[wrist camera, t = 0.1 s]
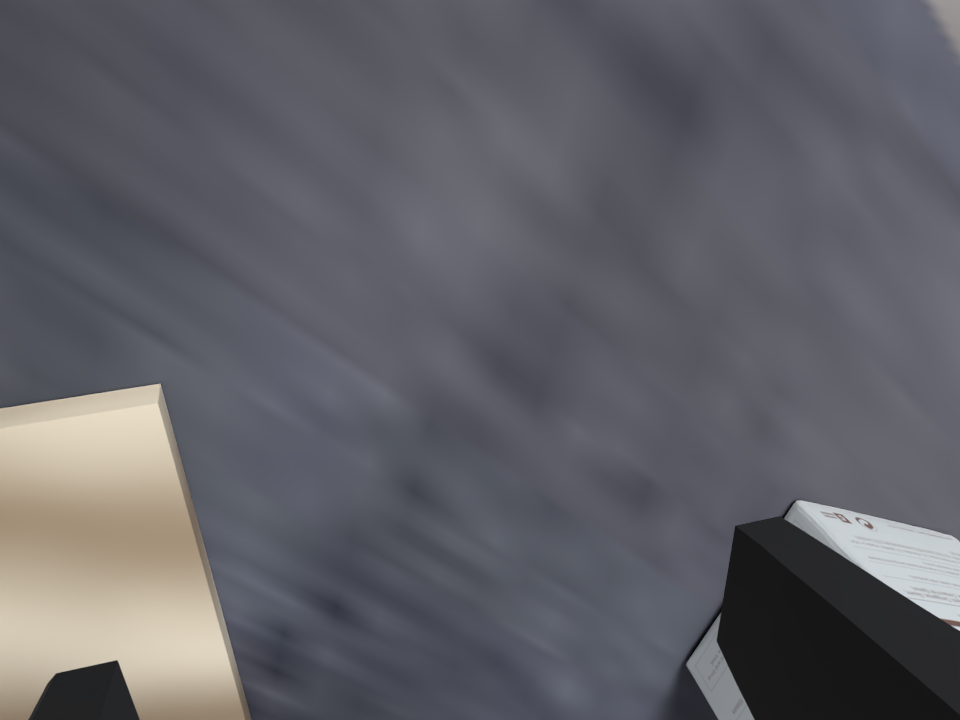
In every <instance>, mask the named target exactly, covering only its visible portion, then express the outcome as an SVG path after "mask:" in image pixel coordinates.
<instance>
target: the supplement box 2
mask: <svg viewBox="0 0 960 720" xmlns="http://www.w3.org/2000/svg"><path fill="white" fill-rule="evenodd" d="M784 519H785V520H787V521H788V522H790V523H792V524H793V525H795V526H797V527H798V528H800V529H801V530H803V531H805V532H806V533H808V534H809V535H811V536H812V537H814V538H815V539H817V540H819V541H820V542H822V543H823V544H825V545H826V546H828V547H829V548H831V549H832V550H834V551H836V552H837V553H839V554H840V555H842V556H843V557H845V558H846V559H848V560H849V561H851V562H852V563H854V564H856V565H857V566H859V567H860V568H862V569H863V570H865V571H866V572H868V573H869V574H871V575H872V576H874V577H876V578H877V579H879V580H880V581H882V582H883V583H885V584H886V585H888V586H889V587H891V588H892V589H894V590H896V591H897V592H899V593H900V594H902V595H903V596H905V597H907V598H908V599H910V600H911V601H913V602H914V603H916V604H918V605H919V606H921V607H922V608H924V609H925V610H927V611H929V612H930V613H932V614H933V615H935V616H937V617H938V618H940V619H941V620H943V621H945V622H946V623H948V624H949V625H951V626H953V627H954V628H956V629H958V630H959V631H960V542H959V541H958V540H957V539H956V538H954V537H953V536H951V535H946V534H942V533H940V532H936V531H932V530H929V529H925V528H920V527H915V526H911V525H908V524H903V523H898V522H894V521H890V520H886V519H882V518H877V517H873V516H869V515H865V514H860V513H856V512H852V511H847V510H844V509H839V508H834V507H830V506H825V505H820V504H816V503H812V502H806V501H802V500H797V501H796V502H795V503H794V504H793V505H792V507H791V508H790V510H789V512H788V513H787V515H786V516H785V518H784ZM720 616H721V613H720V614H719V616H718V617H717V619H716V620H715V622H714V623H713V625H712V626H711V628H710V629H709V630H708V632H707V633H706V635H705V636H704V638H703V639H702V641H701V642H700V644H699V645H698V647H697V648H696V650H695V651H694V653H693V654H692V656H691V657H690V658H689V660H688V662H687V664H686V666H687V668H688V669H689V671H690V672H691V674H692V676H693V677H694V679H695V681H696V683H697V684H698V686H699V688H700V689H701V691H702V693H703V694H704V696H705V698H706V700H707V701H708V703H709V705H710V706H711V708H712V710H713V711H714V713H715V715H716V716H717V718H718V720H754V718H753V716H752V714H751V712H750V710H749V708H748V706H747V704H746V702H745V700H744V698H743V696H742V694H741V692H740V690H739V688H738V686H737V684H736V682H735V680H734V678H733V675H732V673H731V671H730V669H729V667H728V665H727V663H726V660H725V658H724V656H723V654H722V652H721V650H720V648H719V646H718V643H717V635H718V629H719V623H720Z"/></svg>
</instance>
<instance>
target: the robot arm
mask: <svg viewBox="0 0 960 720" xmlns="http://www.w3.org/2000/svg"><path fill="white" fill-rule="evenodd" d="M717 643H718V646H719V648H720V650H721V652H722V654H723V656H724V658H725V660H726V663H727V665H728V667H729V669H730V671H731V673H732V675H733V678H734V680H735V682H736V684H737V686H738V688H739V690H740V692H741V694H742V696H743V698H744V700H745V702H746V704H747V706H748V708H749V710H750V712H751V714H752V716H753V718H754V720H960V631H959V630H958V629H956V628H954V627H953V626H951V625H949V624H948V623H946V622H945V621H943V620H941V619H940V618H938V617H937V616H935V615H933V614H932V613H930V612H929V611H927V610H925V609H924V608H922V607H921V606H919V605H918V604H916V603H914V602H913V601H911V600H910V599H908V598H907V597H905V596H903V595H902V594H900V593H899V592H897V591H896V590H894V589H892V588H891V587H889V586H888V585H886V584H885V583H883V582H882V581H880V580H879V579H877V578H876V577H874V576H872V575H871V574H869V573H868V572H866V571H865V570H863V569H862V568H860V567H859V566H857V565H856V564H854V563H852V562H851V561H849V560H848V559H846V558H845V557H843V556H842V555H840V554H839V553H837V552H836V551H834V550H832V549H831V548H829V547H828V546H826V545H825V544H823V543H822V542H820V541H819V540H817V539H815V538H814V537H812V536H811V535H809V534H808V533H806V532H805V531H803V530H801V529H800V528H798V527H797V526H795V525H793V524H792V523H790V522H788V521H787V520H785V519H783V518H782V517H780V516H779V517H774V518H770V519H765V520H760V521H756V522H751V523H747V524H742V525H737V526H735V531H734V537H733V544H732V550H731V556H730V562H729V568H728V574H727V580H726V586H725V592H724V598H723V604H722V610H721V616H720V623H719V629H718V635H717ZM28 720H140V719H139V716H138V714H137V711H136V708H135V705H134V703H133V700H132V697H131V695H130V692H129V689H128V687H127V684H126V681H125V679H124V676H123V673H122V671H121V668H120V665H119V663H118V660H115V661H111V662H106V663H102V664H97V665H92V666H88V667H83V668H79V669H74V670H69V671H65V672H60V673H56V674H55V675H54V676H53V678H52V679H51V680H50V681H49V682H48V683H47V685H46V687H45V689H44V691H43V693H42V695H41V697H40V699H39V701H38V702H37V704H36V706H35V708H34V710H33V712H32V714H31V716H30V718H29V719H28Z"/></svg>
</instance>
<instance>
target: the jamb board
mask: <svg viewBox="0 0 960 720" xmlns="http://www.w3.org/2000/svg"><path fill="white" fill-rule="evenodd" d="M115 660H118V663H119V665H120V668H121V671H122V673H123V676H124V679H125V681H126V684H127V687H128V689H129V692H130V695H131V697H132V700H133V703H134V705H135V708H136V711H137V714H138V716H139V719H140V720H251V716H250V713H249V709H248V705H247V702H246V698H245V694H244V690H243V687H242V683H241V679H240V676H239V672H238V668H237V665H236V661H235V657H234V654H233V650H232V646H231V642H230V639H229V635H228V631H227V628H226V624H225V620H224V617H223V613H222V609H221V605H220V602H219V598H218V594H217V591H216V587H215V583H214V580H213V576H212V572H211V569H210V565H209V561H208V557H207V554H206V550H205V546H204V543H203V539H202V535H201V532H200V528H199V524H198V521H197V517H196V513H195V509H194V506H193V502H192V498H191V495H190V491H189V487H188V484H187V480H186V476H185V473H184V469H183V465H182V461H181V458H180V454H179V450H178V447H177V443H176V439H175V436H174V432H173V428H172V425H171V421H170V417H169V413H168V410H167V406H166V402H165V399H164V395H163V391H162V388H161V384H155V385H149V386H142V387H136V388H130V389H123V390H117V391H110V392H104V393H98V394H91V395H85V396H78V397H72V398H65V399H59V400H53V401H46V402H40V403H33V404H27V405H21V406H14V407H8V408H1V409H0V720H28V719H29V718H30V716H31V714H32V712H33V710H34V708H35V706H36V704H37V702H38V701H39V699H40V697H41V695H42V693H43V691H44V689H45V687H46V685H47V683H48V682H49V681H50V680H51V679H52V678H53V676H54V675H55V674H56V673H60V672H65V671H69V670H74V669H79V668H83V667H88V666H92V665H97V664H102V663H106V662H111V661H115Z"/></svg>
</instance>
